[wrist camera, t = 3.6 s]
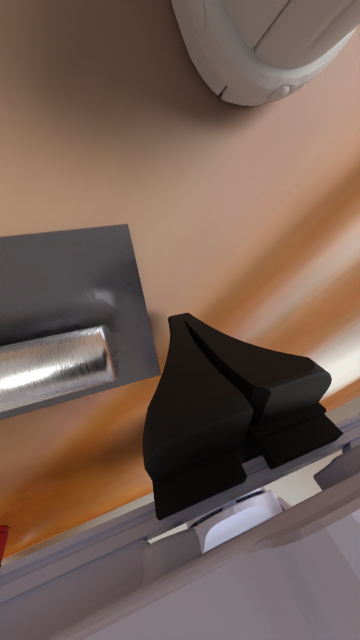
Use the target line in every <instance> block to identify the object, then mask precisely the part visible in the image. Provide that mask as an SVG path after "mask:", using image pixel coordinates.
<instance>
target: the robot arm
mask: <svg viewBox="0 0 360 640" xmlns="http://www.w3.org/2000/svg"><path fill="white" fill-rule="evenodd" d="M168 322H169V329H170V344H169V351H168V356H167V360H166V364H165V367H164V370H163V373H162V376H161V379H160V381H159V384H158V387H157V389H156V391H155V394H154V396H153V398H152V400H151V402H150V404H149V407H148V410H147V415H146V420H145V426H144V433H143V457H144V466H145V470H146V471H147V473H148V475H149V476H150V478H151V480H152V482H153V491H154V502H151V503H149V504H147V505H144V506H142V507H140V508H137V509H135V510H133V511H130V512H128V513H126V514H123V515H121V516H119V517H116V518H114V519H112V520H109V521H107V522H105V523H102V524H100V525H98V526H95V527H93V528H91V529H88V530H86V531H84V532H81V533H79V534H77V535H74V536H72V537H70V538H67V539H65V540H63V541H60V542H58V543H56V544H53V545H51V546H49V547H46V548H44V549H41V550H39V551H37V552H34V553H32V554H30V555H27V556H25V557H23V558H21V559H18V560H16V561H13V562H11V563H9V564H6V565H4V566H2V567H0V640H360V414H357V415H355V416H352V417H350V418H348V419H345V420H343V421H341V422H339V423H336V424H334V423H333V422H332V421H331V420H330V419H329V418H327V417H326V415H325V414H324V413H325V412H326V409H325V408H324V407H323V406H322V405H321V404H320V403H319V401H320V399H321V398H322V396H323V395H324V394H325V392H326V391H327V389H328V388H329V386H330V384H331V380H332V379H331V375H330V374H329V373H328V372H327V371H325V370H324V369H323V368H322V367H320V366H319V365H318V364H316V363H315V362H314V361H312V360H311V359H310V358H308V357H303V356H297V355H292V354H287V353H282V352H277V351H273V350H269V349H265V348H262V347H258V346H255V345H252V344H249V343H246V342H243V341H240V340H238V339H235V338H233V337H230V336H228V335H226V334H224V333H222V332H220V331H218V330H216V329H214V328H212V327H210V326H208V325H207V324H205V323H203V322H202V321H200V320H199V319H197V318H195V317H194V316H192V315H191V314H189V313H184V314H179V315H174V316H170V317H169V318H168ZM341 449H342V453H343V454H341V455H339V456H338V457H336V458H334V459H333V460H332V462H331V463H330V464H328V465H327V466H326V467H325V468H323V469H322V470H321V471H319V472H318V473H316V474H315V475H314V479H315V481H316V482H317V484H318V485H319V486H320V488H321V489H322V491H321V492H319V493H318V494H316V495H314V496H312V497H310V498H308V499H306V500H304V501H302V502H300V503H298V504H296V505H295V506H292V505H291V504H289V503H288V502H287V501H285V500H284V499H283V498H281V497H276V496H275V495H274V493H273V491H272V490H269V491H267V492H265V488H264V486H265V485H267V484H269V483H271V482H273V481H276V480H278V479H280V478H282V477H284V476H286V475H288V474H290V473H292V472H295V471H297V470H299V469H301V468H303V467H305V466H307V465H309V464H312V463H314V462H316V461H318V460H320V459H322V458H324V457H326V456H329V455H331V454H333V453H335V452H337V451H339V450H341ZM186 522H187V527H188V529H186V530H183V531H181V532H178V533H175V534H173V535H170V536H167V537H165V538H162V539H160V540H158V541H156V542H153V543H152V544H150V543H149V542H147V541H148V540H150V539H152V538H154V537H156V536H158V535H161V534H163V533H165V532H167V531H169V530H171V529H173V528H175V527H178V526H180V525H182V524H184V523H186Z"/></svg>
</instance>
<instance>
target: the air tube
mask: <svg viewBox="0 0 360 640" xmlns="http://www.w3.org/2000/svg"><path fill="white" fill-rule="evenodd" d="M118 371H119V365H118V355H117V350H116V346H115V342H114V339H113V336H112V334H111V331H110V330H109V328H108V327H107V326H106V325H100V326H95V327H91V328H86V329H81V330H76V331H72V332H67V333H62V334H57V335H53V336H48V337H43V338H38V339H34V340H29V341H24V342H19V343H15V344H10V345H5V346H0V412H3V411H7V410H11V409H14V408H18V407H22V406H25V405H29V404H33V403H36V402H40V401H43V400H47V399H51V398H54V397H58V396H62V395H65V394H69V393H73V392H76V391H80V390H83V389H87V388H91V387H94V386H98V385H102V384H105V383H109V382H112V381H116V380H117V377H118Z"/></svg>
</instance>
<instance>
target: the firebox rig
mask: <svg viewBox="0 0 360 640" xmlns="http://www.w3.org/2000/svg"><path fill="white" fill-rule="evenodd" d="M100 325H106V326H107V327H108V328H109V330H110V331H111V334H112V336H113V339H114V342H115V346H116V350H117V355H118V365H119V371H118V377H117V380H116V381H112V382H109V383H105V384H102V385H98V386H94V387H91V388H87V389H83V390H80V391H76V392H73V393H69V394H65V395H62V396H58V397H54V398H51V399H47V400H43V401H40V402H36V403H33V404H29V405H25V406H22V407H18V408H14V409H11V410H7V411H3V412H0V420H2V419H6V418H9V417H13V416H16V415H20V414H23V413H27V412H30V411H34V410H37V409H41V408H44V407H48V406H52V405H55V404H59V403H62V402H66V401H69V400H73V399H76V398H80V397H83V396H87V395H90V394H94V393H97V392H101V391H105V390H108V389H112V388H115V387H119V386H122V385H126V384H129V383H133V382H136V381H140V380H143V379H147V378H151V377H154V376H158V375H161V372H160V368H159V363H158V359H157V354H156V350H155V345H154V341H153V336H152V332H151V327H150V323H149V318H148V314H147V309H146V305H145V300H144V296H143V291H142V287H141V282H140V278H139V273H138V268H137V264H136V259H135V255H134V250H133V246H132V241H131V237H130V232H129V228H128V224H123V225H113V226H103V227H93V228H84V229H74V230H64V231H54V232H44V233H35V234H25V235H15V236H5V237H0V346H5V345H10V344H15V343H19V342H24V341H29V340H34V339H38V338H43V337H48V336H53V335H57V334H62V333H67V332H72V331H76V330H81V329H86V328H91V327H95V326H100Z"/></svg>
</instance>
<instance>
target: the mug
mask: <svg viewBox="0 0 360 640" xmlns="http://www.w3.org/2000/svg"><path fill="white" fill-rule="evenodd" d="M171 1H172V6H173V9H174V13H175V16H176V19H177V22H178V25H179V28H180V31H181V34H182V37H183V40H184V42H185V45H186V47H187V50H188V53H189V56H190V58H191V60H192V62H193V64H194V66H195V67H196V69H197V71H198V72H199V74H200V76H201V77H202V79H203V80H204V81H205V83H206V84H207V85H208V86H209V88H210V89H211V90H212V91H213V92H214V93H215V94H216V95H217V96H218V95H219V94H220V93H221V92H222V93H221V99H222V100H224V101H226V102H229V103H234V104H237V105H243V106H258V105H261V104H263V103H266V102H273V101H276V100H279V99H282V98H284V97H286V96H288V95H290V94H292V93H294V92H295V91H297V90H298V89H300V88H301V87H302V86H304V85H305V84H306V83H308V82H309V81H310V80H312V79H313V78H314V77H315V76H316V75H317V74H319V73H320V72H321V71H322V70H323V69H324V68H325V67H326V66H327V65H328V64H329V63H330V62H331V61H332V60H333V59H334V58H335V56H336V55H337V54H338V53H339V52H340V51H341V49H342V48H343V47H344V45H345V44H346V43H347V41H348V40H349V38H350V37H351V35H352V34H353V32H354V31H355V29H356V27H357V26H358V25H359V24H360V0H171Z"/></svg>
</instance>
